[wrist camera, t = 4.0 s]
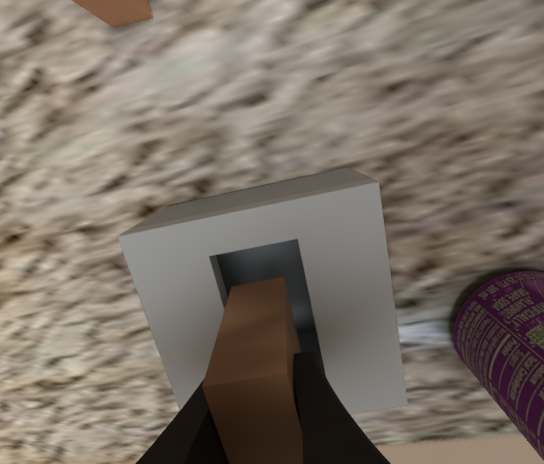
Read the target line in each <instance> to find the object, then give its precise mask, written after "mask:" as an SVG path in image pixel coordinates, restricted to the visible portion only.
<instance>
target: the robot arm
mask: <svg viewBox="0 0 544 464" xmlns="http://www.w3.org/2000/svg"><path fill="white" fill-rule="evenodd" d="M293 377H294V383H295V389H296V395H297V400H298V406H299V412H300V418H301V426H302V439H303V464H390V462H389V461H387V459H386V458H385V457H384V456H383V455H382V454H381V453H380V451H379V450H378V449H377V448H376V447H375V446H374V444H373V443H372V442H371V441H370V440H369V439H368V437H367V436H366V435H365V434H364V432H363V431H362V430H361V429H360V427H359V426H358V425H357V423H356V422H355V421H354V419H353V418H352V417H351V415H350V414H349V413H348V411H347V410H346V408H345V407H344V405H343V404H342V403H341V401H340V400H339V398H338V396H337V395H336V393H335V392H334V390H333V388H332V387H331V385H330V383H329V382H328V380H327V378H326V376H325V374H324V372H323V370H322V368H321V366H320V363H319V361H318V358H317V353H315V352H314V351H307V352H301V353H295V354H294V358H293ZM204 379H205V378H204ZM204 379H203V381H202V382H201V383H200V385H199V386H198V388H197V389H196V390H195V392H194V393H193V394H192V396H191V397H190V398H189V400H188V401H187V402H186V404H185V405H184V406H183V408H182V409H181V410H180V411H179V413H178V414H177V415H176V417H175V418H174V419H173V420H172V422H171V423H170V424H169V425H168V426H167V428H166V429H165V430H164V431H163V432H162V434H161V435H160V436H159V437H158V438H157V440H156V441H155V442H154V443H153V444H152V446H151V447H150V448H149V449H148V450H147V451H146V453H145V454H144V455H143V456H142V457H141V458H140V459H139V460H138V461H137V463H136V464H229V462H228V459H227V457H226V454H225V451H224V448H223V445H222V442H221V440H220V437H219V434H218V431H217V428H216V425H215V423H214V420H213V417H212V414H211V411H210V408H209V406H208V403H207V400H206V397H205V394H204V391H203V389H202V385H203V382H204Z"/></svg>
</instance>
